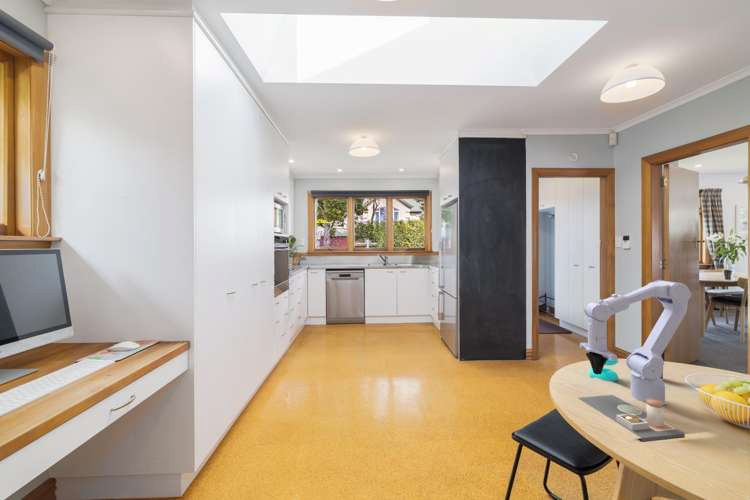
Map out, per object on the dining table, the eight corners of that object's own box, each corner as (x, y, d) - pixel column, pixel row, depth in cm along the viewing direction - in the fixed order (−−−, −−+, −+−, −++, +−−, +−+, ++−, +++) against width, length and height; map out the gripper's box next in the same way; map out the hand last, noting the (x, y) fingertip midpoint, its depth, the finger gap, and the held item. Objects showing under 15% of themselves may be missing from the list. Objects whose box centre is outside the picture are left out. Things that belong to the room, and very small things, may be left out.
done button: (632, 420, 104) (632, 413, 104) (642, 426, 100) (642, 419, 100) (621, 421, 103) (621, 414, 103) (632, 427, 100) (632, 420, 100)
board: (612, 398, 122) (612, 390, 121) (684, 437, 97) (684, 427, 97) (577, 401, 120) (577, 392, 120) (641, 442, 95) (641, 431, 95)
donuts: (611, 360, 132) (584, 353, 141) (611, 385, 132) (584, 376, 141) (622, 355, 137) (596, 349, 146) (622, 379, 138) (596, 371, 146)
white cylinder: (656, 420, 104) (655, 397, 104) (667, 427, 100) (666, 403, 100) (643, 420, 104) (642, 398, 104) (654, 427, 100) (653, 404, 100)
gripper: (572, 331, 127) (572, 367, 127) (603, 342, 113) (603, 382, 113) (589, 330, 128) (589, 365, 128) (622, 341, 114) (622, 381, 114)
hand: (597, 373), depth 121 cm, fingers closed
